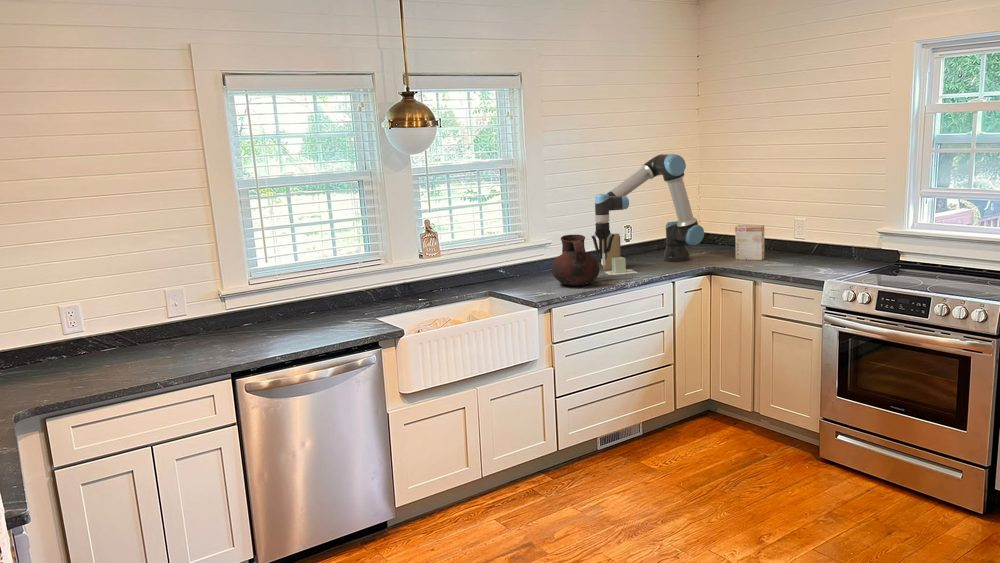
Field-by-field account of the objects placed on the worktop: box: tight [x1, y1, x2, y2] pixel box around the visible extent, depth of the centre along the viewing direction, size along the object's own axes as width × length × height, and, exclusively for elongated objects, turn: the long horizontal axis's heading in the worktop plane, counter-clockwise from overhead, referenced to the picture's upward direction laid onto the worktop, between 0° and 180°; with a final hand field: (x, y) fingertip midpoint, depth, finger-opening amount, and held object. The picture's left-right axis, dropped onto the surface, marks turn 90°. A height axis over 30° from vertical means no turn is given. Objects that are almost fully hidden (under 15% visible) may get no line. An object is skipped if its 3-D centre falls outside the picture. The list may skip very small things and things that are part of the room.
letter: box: [604, 269, 638, 276], centre depth 412 cm, size 16×11×1 cm
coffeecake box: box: [734, 224, 765, 261], centre depth 428 cm, size 15×7×20 cm, turn 59°
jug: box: [551, 234, 600, 287], centre depth 385 cm, size 25×25×25 cm
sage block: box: [611, 256, 627, 275], centre depth 411 cm, size 6×6×8 cm
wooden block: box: [602, 233, 622, 271], centre depth 422 cm, size 10×10×20 cm
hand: (603, 264), depth 409 cm, fingers closed
